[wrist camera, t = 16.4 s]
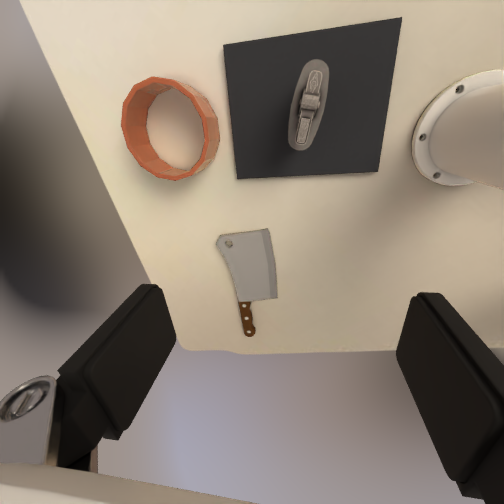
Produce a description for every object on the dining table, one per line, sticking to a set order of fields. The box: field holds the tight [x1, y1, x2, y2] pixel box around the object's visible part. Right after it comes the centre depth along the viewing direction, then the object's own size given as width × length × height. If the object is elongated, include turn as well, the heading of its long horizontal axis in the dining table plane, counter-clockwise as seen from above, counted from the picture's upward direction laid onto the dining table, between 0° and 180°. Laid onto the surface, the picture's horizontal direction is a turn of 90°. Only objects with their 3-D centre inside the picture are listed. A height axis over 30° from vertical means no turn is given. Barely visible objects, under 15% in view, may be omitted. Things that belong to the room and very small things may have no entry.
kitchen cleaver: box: [216, 229, 277, 337], centre depth 46 cm, size 24×1×10 cm
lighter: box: [288, 59, 329, 150], centre depth 27 cm, size 8×3×10 cm, turn 171°
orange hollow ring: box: [121, 77, 220, 181], centre depth 33 cm, size 12×12×5 cm
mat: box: [223, 17, 402, 179], centre depth 31 cm, size 20×16×1 cm
